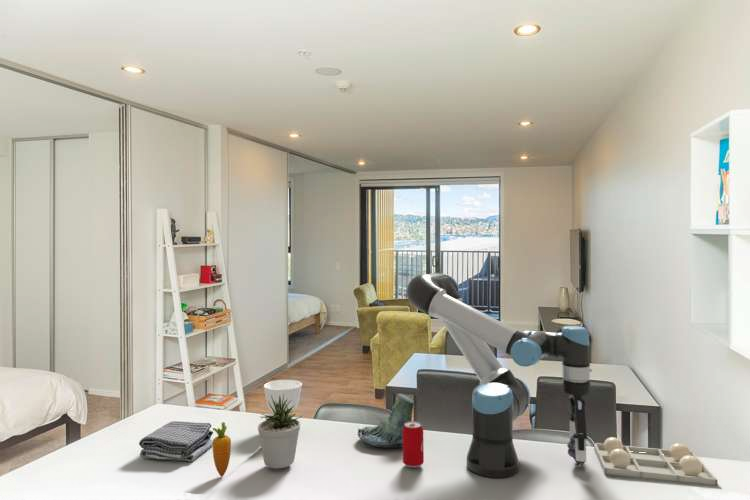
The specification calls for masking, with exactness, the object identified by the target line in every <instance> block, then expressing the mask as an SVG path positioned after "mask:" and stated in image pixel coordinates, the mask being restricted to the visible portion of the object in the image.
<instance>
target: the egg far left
mask: <svg viewBox="0 0 750 500" xmlns="http://www.w3.org/2000/svg"><path fill="white" fill-rule="evenodd" d="M603 444H604V448H605V450H606V452H607V453H608V454H610V453H611V451H612V450H614V449H622V450H623V446H624V445H623V442H622V441H621V439H619V438H617V437H614V436H610V437H606V439H605V440H604V442H603Z"/></svg>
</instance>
